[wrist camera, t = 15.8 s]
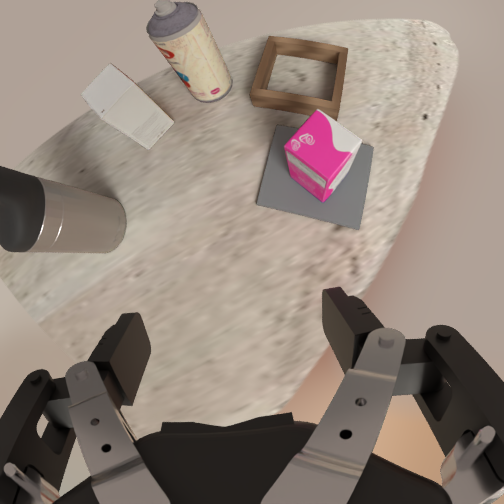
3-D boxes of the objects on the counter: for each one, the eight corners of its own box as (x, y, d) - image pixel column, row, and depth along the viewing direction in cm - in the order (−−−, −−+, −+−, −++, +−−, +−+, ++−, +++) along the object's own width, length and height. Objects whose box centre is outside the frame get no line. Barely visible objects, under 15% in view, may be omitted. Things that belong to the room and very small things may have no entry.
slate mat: (257, 205, 38) (256, 204, 38) (277, 126, 38) (276, 124, 37) (358, 230, 36) (359, 229, 35) (372, 148, 36) (373, 147, 35)
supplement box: (314, 146, 36) (318, 105, 25) (348, 173, 36) (366, 141, 24) (288, 176, 37) (282, 145, 26) (322, 204, 36) (332, 183, 25)
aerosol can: (186, 82, 40) (129, 7, 21) (222, 63, 39) (180, -21, 20) (200, 109, 40) (139, 30, 20) (239, 89, 39) (199, -1, 19)
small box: (176, 122, 41) (135, 82, 28) (148, 151, 41) (100, 120, 28) (150, 99, 42) (109, 61, 29) (125, 126, 42) (79, 95, 29)
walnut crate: (253, 106, 38) (249, 94, 35) (271, 48, 38) (269, 36, 35) (336, 121, 36) (339, 110, 33) (345, 61, 36) (348, 48, 33)
